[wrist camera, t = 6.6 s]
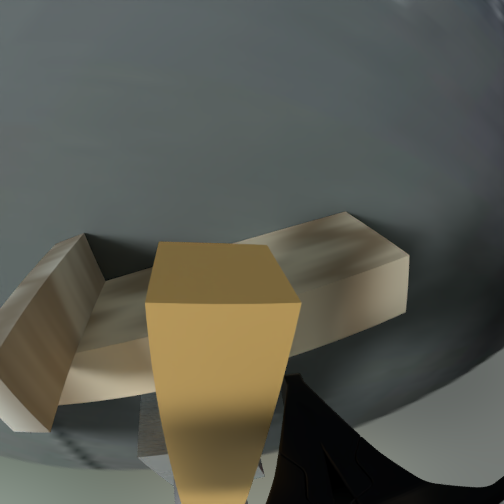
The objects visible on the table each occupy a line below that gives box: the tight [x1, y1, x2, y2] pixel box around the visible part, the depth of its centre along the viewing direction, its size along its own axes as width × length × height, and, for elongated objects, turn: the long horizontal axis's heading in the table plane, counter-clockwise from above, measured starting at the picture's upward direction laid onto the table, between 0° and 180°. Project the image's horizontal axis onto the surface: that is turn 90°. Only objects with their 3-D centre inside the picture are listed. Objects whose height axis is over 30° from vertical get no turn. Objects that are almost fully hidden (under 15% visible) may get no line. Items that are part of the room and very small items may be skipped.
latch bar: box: [145, 242, 301, 504], centre depth 10 cm, size 16×4×3 cm, turn 174°
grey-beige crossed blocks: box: [0, 212, 409, 432], centre depth 11 cm, size 18×6×10 cm, turn 103°
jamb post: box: [137, 392, 265, 486], centre depth 17 cm, size 6×6×7 cm
